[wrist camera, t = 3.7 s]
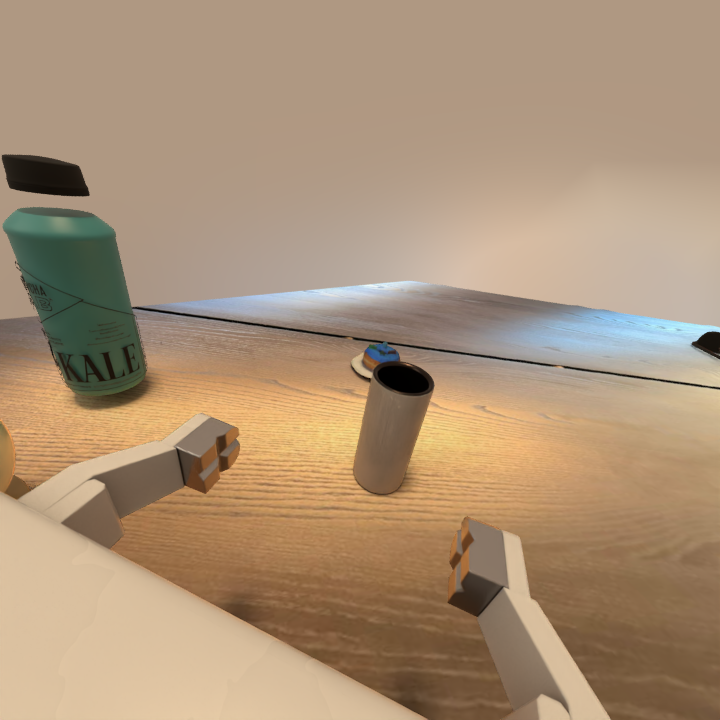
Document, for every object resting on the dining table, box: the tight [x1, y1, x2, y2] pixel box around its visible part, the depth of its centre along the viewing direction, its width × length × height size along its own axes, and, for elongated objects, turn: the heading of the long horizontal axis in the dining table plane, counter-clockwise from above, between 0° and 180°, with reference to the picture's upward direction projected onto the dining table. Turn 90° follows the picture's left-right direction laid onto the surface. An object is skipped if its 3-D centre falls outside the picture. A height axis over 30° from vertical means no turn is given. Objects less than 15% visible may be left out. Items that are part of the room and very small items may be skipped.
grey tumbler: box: [353, 361, 434, 494], centre depth 24 cm, size 4×4×10 cm
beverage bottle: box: [2, 155, 148, 396], centre depth 25 cm, size 6×7×20 cm
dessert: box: [351, 342, 400, 378], centre depth 42 cm, size 8×7×6 cm
